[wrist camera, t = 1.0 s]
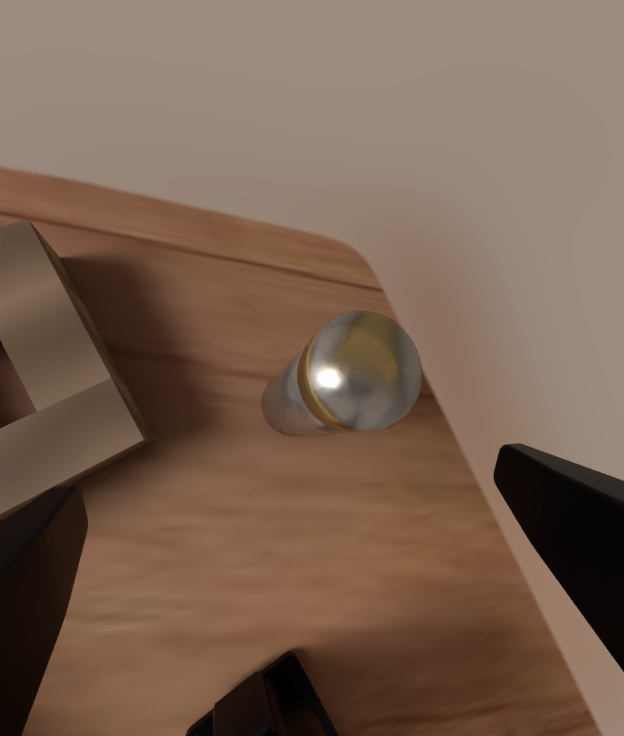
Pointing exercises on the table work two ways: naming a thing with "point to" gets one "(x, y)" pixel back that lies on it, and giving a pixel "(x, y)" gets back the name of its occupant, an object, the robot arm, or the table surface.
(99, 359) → the block
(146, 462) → the table surface
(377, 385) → the steel pin
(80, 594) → the table surface
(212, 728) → the robot arm
